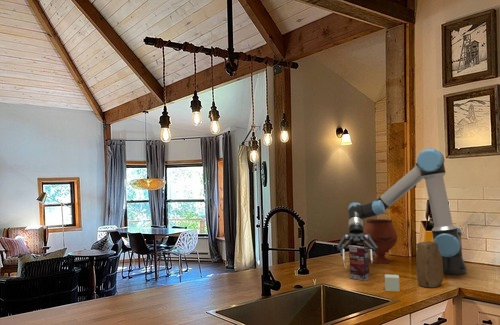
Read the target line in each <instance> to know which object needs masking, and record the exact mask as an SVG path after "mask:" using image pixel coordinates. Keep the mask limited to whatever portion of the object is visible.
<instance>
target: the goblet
mask: <svg viewBox="0 0 500 325" xmlns="http://www.w3.org/2000/svg"><path fill="white" fill-rule="evenodd" d="M392 221H393V220H392V219H387V218H386V219H383V218H381V219H380V218H379V219H378V218H377V219H376V218H375V219H374V218H372V219H370V218H369V219H367V220H366V223H365V226H364V227H363V232H364V235H368V234H370V237H371V239H372V240H373V241H374V243H375V244H376V246H377V247H378V250H377V251H374V254H375V255H376V257H375V258H374V259H373V263H374V264H381V265H383V264H388V263H389V262H390V260H389V259H388V258H387V257H386V254H387V252H389V251H390V250H392V249H393V248H394V247H395V245H396V244H397V241H398V235H397V234H398V233H397V232H396V229H395V227H394V224H393V222H392ZM364 239H365V240H366V241H367V242H368V243H369V244H370V242H369V241H368V239H366V238H364ZM370 245H371V244H370ZM371 246H372V245H371Z"/></svg>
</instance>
